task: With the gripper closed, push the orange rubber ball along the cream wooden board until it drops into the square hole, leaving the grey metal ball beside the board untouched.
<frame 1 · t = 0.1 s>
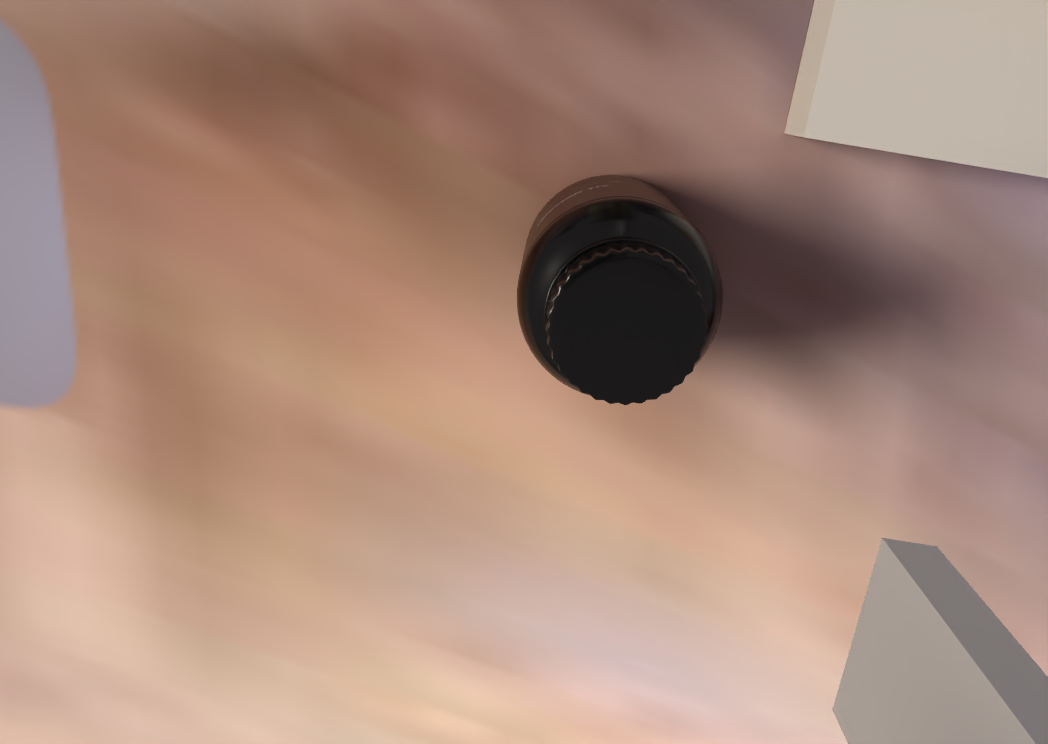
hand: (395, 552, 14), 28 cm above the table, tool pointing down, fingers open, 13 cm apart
supplement bottle: (605, 257, 41), on the table
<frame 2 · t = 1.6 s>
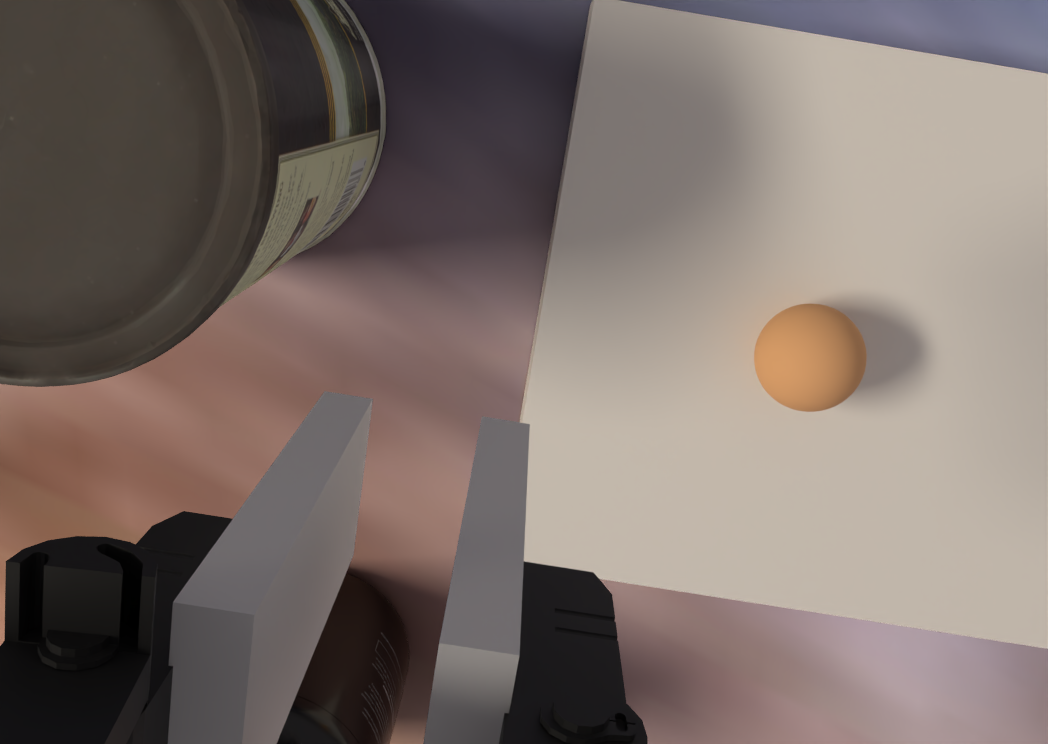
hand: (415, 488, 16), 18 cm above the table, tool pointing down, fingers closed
coffee can: (230, 109, 32), on the table
ball: (809, 357, 29), point 5 cm above the table, touching hole board
hole board: (946, 350, 34), on the table
supplement bottle: (322, 640, 38), on the table
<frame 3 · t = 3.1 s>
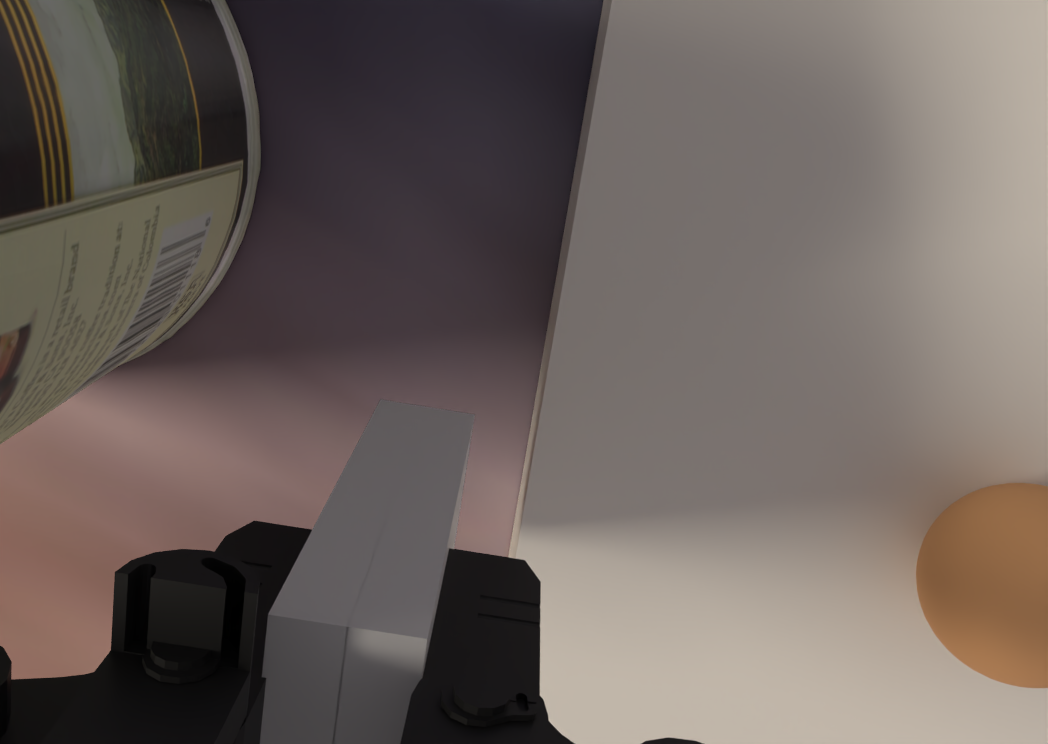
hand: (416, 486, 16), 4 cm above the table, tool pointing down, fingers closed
ball: (1023, 583, 16), point 5 cm above the table, touching hole board
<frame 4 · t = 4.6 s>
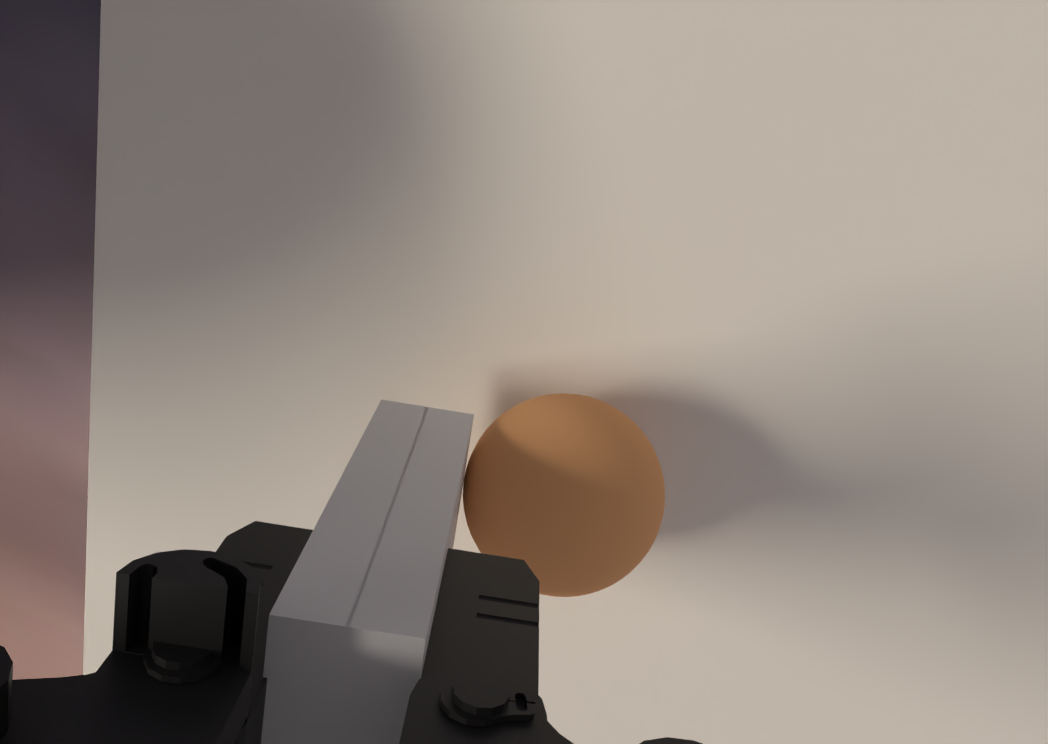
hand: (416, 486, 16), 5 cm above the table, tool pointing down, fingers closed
ball: (563, 493, 16), point 5 cm above the table, tilted 5°, touching hole board
hole board: (837, 444, 20), on the table
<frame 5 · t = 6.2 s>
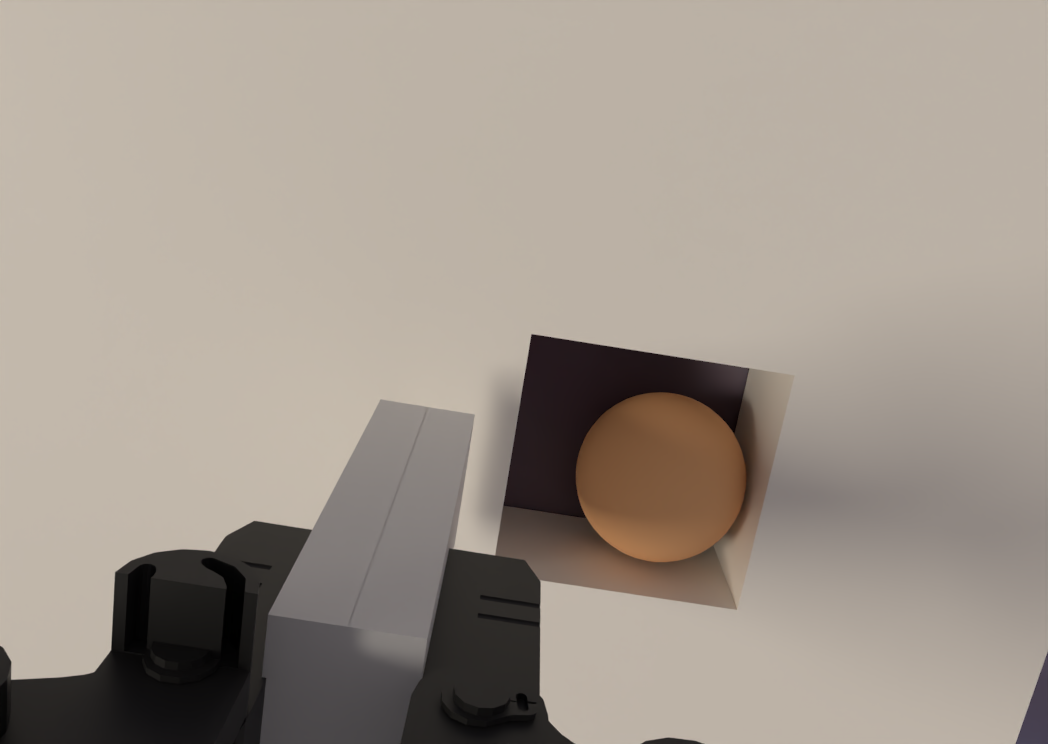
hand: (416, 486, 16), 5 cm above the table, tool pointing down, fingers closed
ball: (660, 476, 19), point 2 cm above the table, tilted 161°
hole board: (332, 375, 20), on the table
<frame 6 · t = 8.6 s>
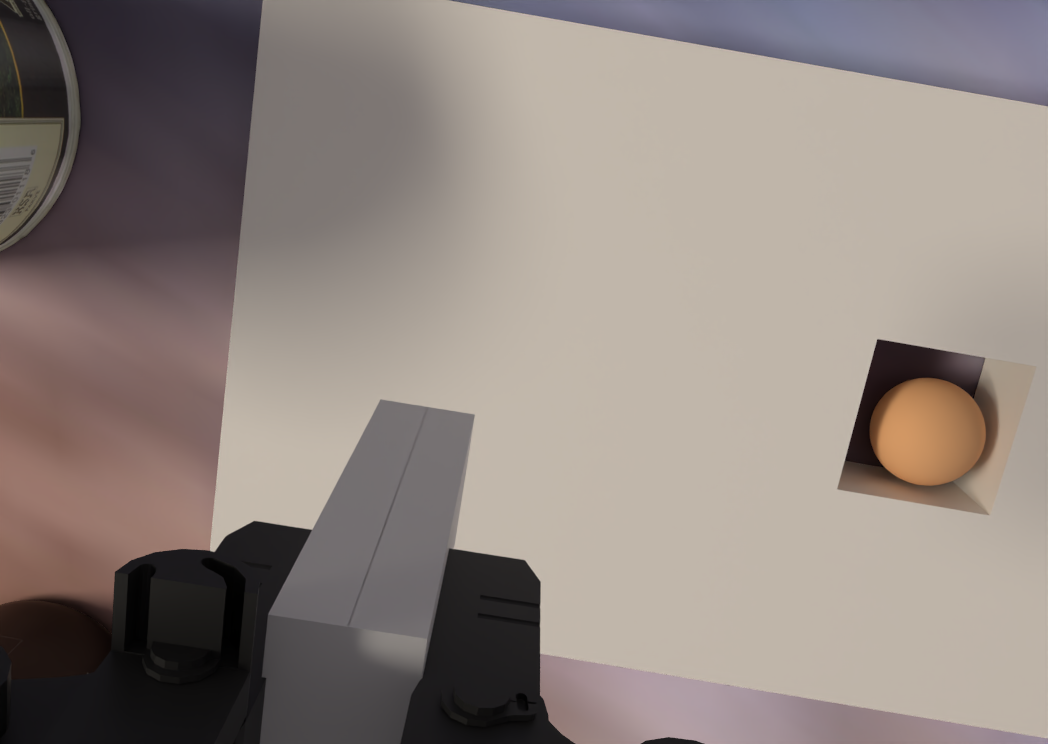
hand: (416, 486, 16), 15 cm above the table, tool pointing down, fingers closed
ball: (926, 431, 29), point 2 cm above the table, tilted 153°
hole board: (709, 367, 31), on the table
supplement bottle: (51, 679, 34), on the table
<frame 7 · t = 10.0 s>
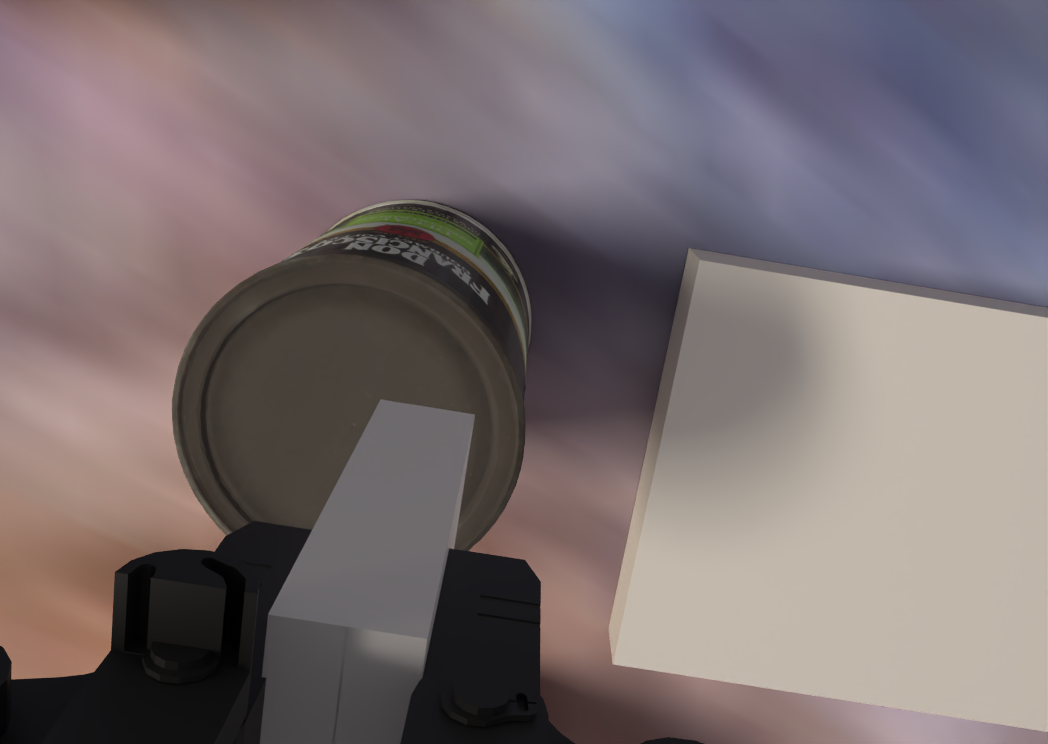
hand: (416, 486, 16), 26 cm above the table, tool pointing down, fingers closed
coffee can: (411, 319, 42), on the table
hole board: (956, 498, 44), on the table
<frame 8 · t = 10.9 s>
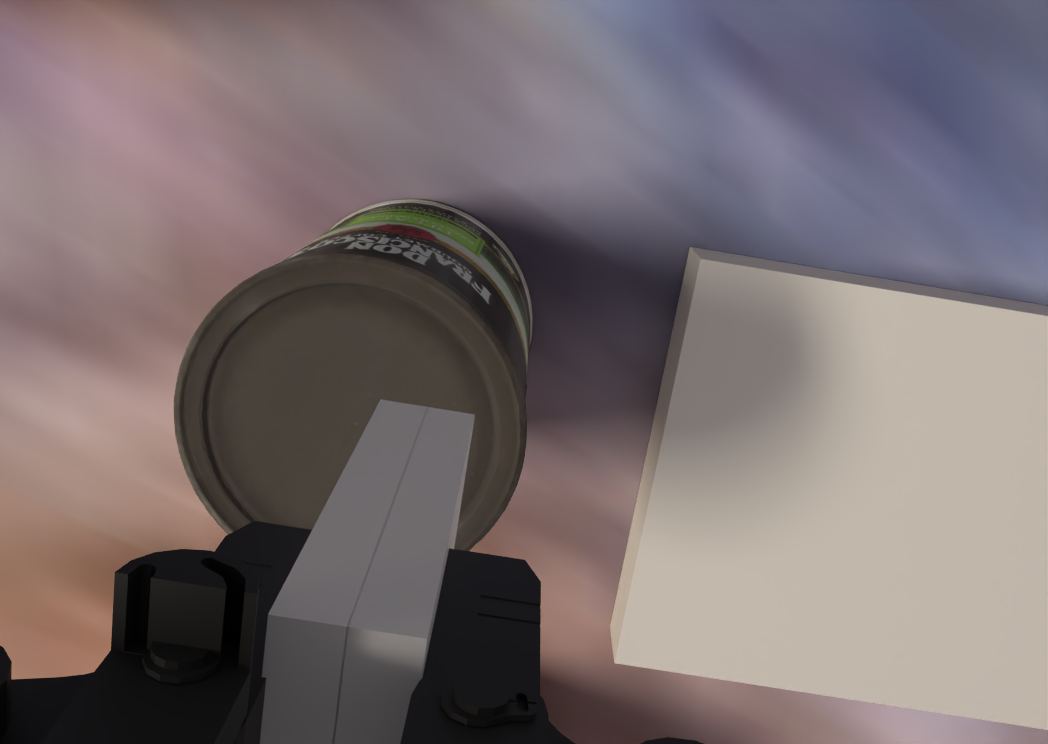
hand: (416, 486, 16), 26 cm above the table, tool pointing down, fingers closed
coffee can: (412, 318, 42), on the table
hole board: (958, 497, 44), on the table
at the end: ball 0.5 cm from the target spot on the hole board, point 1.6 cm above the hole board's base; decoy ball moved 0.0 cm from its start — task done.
